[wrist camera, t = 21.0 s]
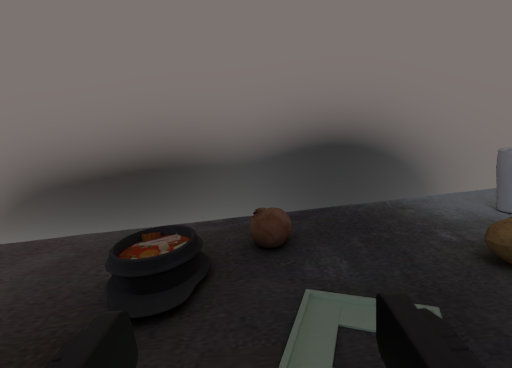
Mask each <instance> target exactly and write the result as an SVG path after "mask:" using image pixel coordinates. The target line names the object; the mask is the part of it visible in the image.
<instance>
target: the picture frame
mask: <svg viewBox="0 0 512 368" xmlns="http://www.w3.org/2000/svg"><path fill="white" fill-rule="evenodd" d="M414 305H415V306H416V307H417V308H418V309H419V308H427V309H428V310H430V311H431V312H433V313H434V314H436V315H437V316H439V317H440V318H442V316H441V313H440V309H439V307H433V306H426V305H418V304H414ZM339 326H341V327H347V328H352V329H358V330H363V331H369V332H375V333H376V299H375V298H367V297H360V296H353V295H345V294H338V293H331V292H324V291H316V290H309V289H306V291H305V294H304V297H303V299H302V302H301V305H300V308H299V311H298V314H297V316H296V319H295V322H294V325H293V328H292V331H291V334H290V336H289V339H288V342H287V345H286V348H285V351H284V354H283V356H282V359H281V362H280V365H279V368H333V361H334V354H335V347H336V340H337V333H338V327H339Z"/></svg>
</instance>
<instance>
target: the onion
mask: <svg viewBox="0 0 512 368" xmlns="http://www.w3.org/2000/svg"><path fill="white" fill-rule="evenodd" d="M253 214H254V216H253V217H252V218H251V220H250V223H249V232H250V235H251V238H252V239H253V241H254V242H255V243H256V244H257V245H259V246H260V247H263V248H273V247H277V248H278V247H281V246H282V245H284V244H285V243H286V241H287V240H288V237H289V236H290V234H291V229H292V223H291V220H290V218H289V216H288V215H287V213H286V212H284V211H283V210H282V209H279V208H267V209H266V208H258V209H256V211H255V212H254V213H253Z"/></svg>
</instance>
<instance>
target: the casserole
mask: <svg viewBox="0 0 512 368" xmlns="http://www.w3.org/2000/svg"><path fill="white" fill-rule="evenodd" d="M202 245H203V242H202V239H201V238H200V237H198V236H197V234H196V232H195V231H194V230H193V229H192V228H190V227H187V226H179V225H171V226H161V227H155V228H151V229H146V230H143V231H140V232H137V233H134V234H132V235H130V236H127V237H125V238H123V239H122V240H120V241H119V242H117V243H116V244H115V245H114V246H113V247H112V248H111V249H110V251H109V258H108V259H107V261H106V263H105V268H106V270H107V271H108V272H109V273H111V274H112V277H111V278H110V279H109V281H108V283H107V285H106V290H105V292H106V294H107V296H108V298H109V301H110V303H109V311H124V310H125V311H127V312H128V313H129V315H130V318H139V317H146V316H150V315H154V314H159V313H161V312H164V311H167V310H170V309H172V308H174V307H176V306H178V305H180V304H182V303H183V302H184V301H185V300H187V299H188V297H189V296H190V294H191V293H192V291H193V289H194V288H195V286H196V285H197V284H198V283H199V282H200V281H201V280H202V278H203V277H204V276H205V275H206V274H207V272H208V270H209V268H210V260H209V258H208V257H207V256H206V255H205V254H203V253H202V252H200V250H201V248H202Z"/></svg>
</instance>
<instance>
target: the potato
mask: <svg viewBox="0 0 512 368" xmlns="http://www.w3.org/2000/svg"><path fill="white" fill-rule="evenodd" d="M485 239H486V243H487V246H488V247H489V249H490V250H491V251H492V252H494V253H495V254H497V255H498V256H499V257H501V258H502V259H503V260H504V261H506V262H508V263H510V264H512V217H510V218H507V219H505V220H501V221H498V222H496V223H494V224H492V225H491V226H490V227H489V228H488V229H487V231H486V234H485Z"/></svg>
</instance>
